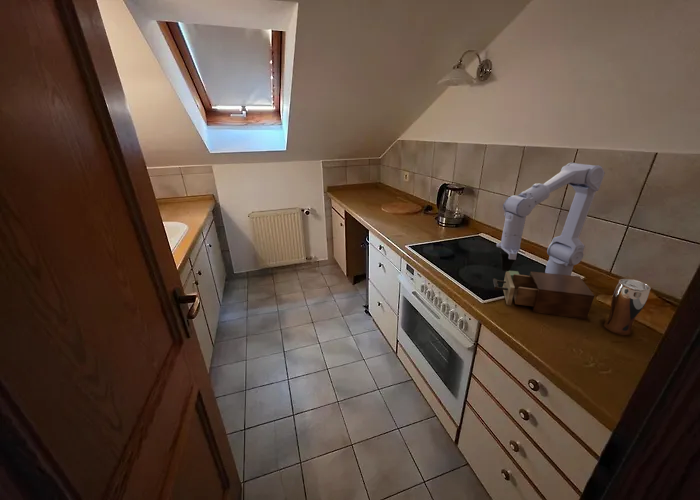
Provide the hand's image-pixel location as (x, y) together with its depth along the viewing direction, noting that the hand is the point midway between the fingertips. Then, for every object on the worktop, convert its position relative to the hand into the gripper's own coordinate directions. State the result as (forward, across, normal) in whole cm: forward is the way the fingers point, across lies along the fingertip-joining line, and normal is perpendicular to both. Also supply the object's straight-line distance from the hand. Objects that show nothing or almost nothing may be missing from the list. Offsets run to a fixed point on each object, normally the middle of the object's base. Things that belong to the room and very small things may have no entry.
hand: (505, 270), depth 102 cm
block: (+10, -11, +5) cm, 16 cm away
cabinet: (+10, +2, +16) cm, 19 cm away
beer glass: (+10, +10, +30) cm, 34 cm away
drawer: (+9, +2, +6) cm, 11 cm away
